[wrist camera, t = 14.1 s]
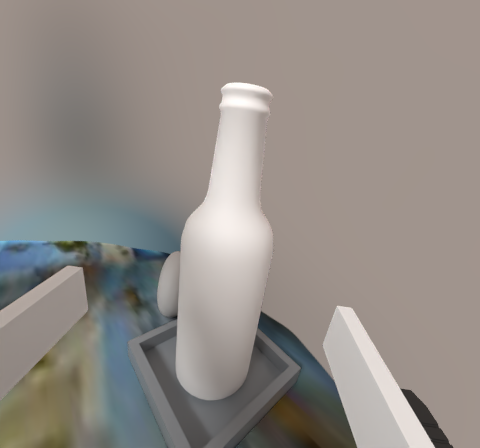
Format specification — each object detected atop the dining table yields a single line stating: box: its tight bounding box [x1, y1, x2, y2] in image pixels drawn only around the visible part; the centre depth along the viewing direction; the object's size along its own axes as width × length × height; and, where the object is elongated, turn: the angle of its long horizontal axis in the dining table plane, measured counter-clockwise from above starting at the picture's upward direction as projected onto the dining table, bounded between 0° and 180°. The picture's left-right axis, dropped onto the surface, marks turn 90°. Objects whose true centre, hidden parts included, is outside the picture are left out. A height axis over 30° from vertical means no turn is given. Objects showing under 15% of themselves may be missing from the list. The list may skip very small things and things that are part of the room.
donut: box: [157, 251, 181, 317], centre depth 35 cm, size 10×4×10 cm, turn 0°
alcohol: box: [175, 83, 274, 400], centre depth 22 cm, size 9×9×30 cm
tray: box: [128, 319, 301, 448], centre depth 27 cm, size 15×15×2 cm
